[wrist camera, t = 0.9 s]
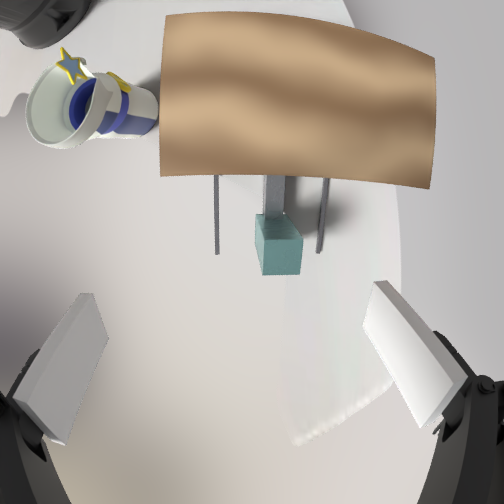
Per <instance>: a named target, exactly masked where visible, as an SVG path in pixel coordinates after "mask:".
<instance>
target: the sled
mask: <svg viewBox="0 0 504 504" xmlns="http://www.w3.org/2000/svg"><path fill="white" fill-rule="evenodd" d="M284 192H285V176H284V175H264V193H263V214H256V224H255V246H256V250H257V254H258V258H259V262H260V266H261V271H262V275H299V274H300V268H301V259H302V250H303V240H304V239H303V238H302V237H301V235H300V234H299V232H298V231H297V229H296V228H295V226H294V225H293V223H292V222H291V220H290V219H289V218H288V216H287V215H286V214H283V209H284Z"/></svg>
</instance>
